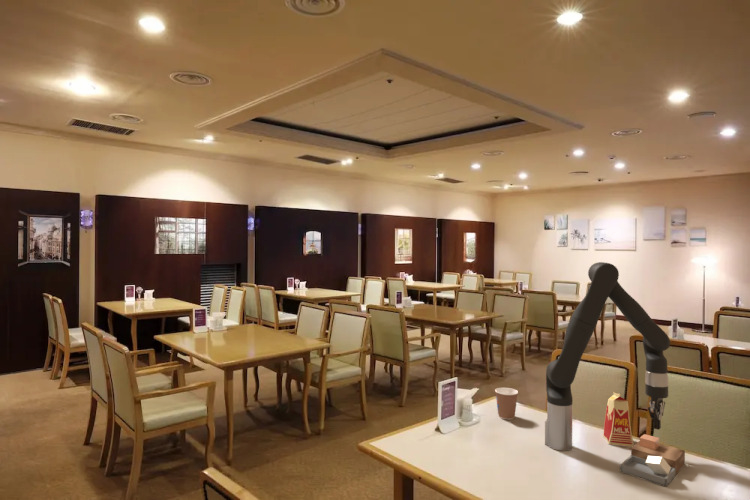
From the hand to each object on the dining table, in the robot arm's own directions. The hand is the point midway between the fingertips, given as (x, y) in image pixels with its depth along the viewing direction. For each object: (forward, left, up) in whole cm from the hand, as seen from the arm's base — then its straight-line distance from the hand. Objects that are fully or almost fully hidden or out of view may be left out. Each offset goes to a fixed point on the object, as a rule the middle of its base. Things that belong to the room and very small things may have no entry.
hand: (657, 428), depth 177 cm
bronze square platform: (+3, -9, -9) cm, 13 cm away
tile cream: (+6, -19, -4) cm, 21 cm away
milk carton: (-14, +1, -10) cm, 17 cm away
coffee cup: (-59, -8, -10) cm, 60 cm away
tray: (+3, -21, -9) cm, 23 cm away
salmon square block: (0, -8, -4) cm, 9 cm away
